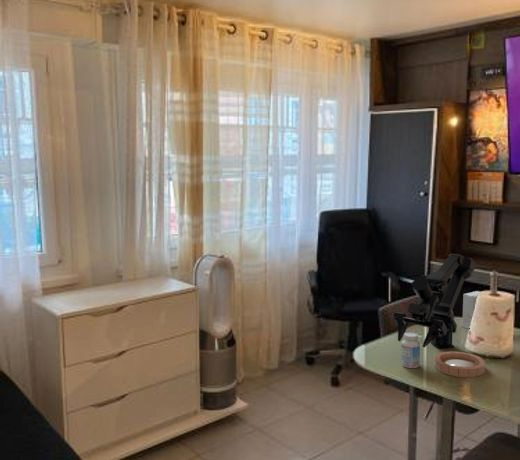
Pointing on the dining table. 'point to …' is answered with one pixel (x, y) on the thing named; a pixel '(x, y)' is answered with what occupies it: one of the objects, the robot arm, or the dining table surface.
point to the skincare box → (468, 307)
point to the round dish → (459, 364)
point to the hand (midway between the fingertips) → (410, 343)
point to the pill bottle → (410, 350)
